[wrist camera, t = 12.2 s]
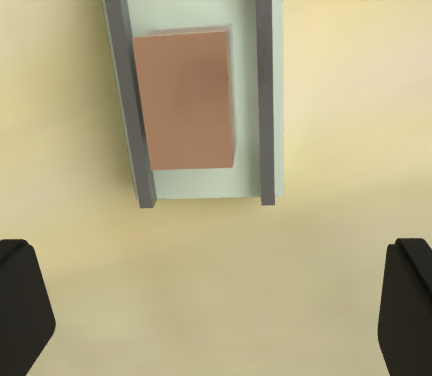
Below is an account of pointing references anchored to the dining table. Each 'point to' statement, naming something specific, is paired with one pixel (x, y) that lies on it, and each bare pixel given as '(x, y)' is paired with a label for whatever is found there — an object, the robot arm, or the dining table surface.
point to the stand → (244, 89)
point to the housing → (188, 96)
